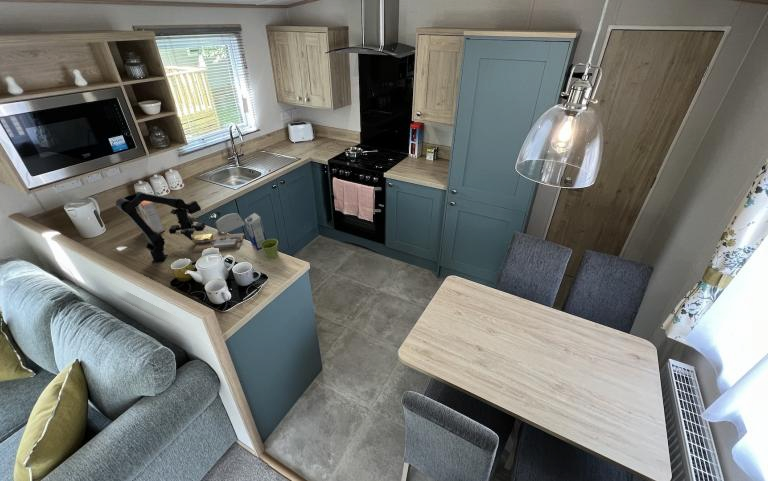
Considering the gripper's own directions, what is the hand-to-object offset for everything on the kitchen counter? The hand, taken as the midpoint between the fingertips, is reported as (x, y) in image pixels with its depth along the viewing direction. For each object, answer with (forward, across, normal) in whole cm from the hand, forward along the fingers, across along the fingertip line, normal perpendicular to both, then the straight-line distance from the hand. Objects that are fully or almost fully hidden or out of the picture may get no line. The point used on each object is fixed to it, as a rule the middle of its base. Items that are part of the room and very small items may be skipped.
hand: (192, 239), depth 208 cm
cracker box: (+2, +30, -22) cm, 37 cm away
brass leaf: (+1, -6, 0) cm, 6 cm away
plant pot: (+2, -50, +23) cm, 55 cm away
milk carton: (+2, -41, +11) cm, 43 cm away
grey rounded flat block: (+2, -19, -15) cm, 24 cm away
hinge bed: (+2, -16, +4) cm, 17 cm away
